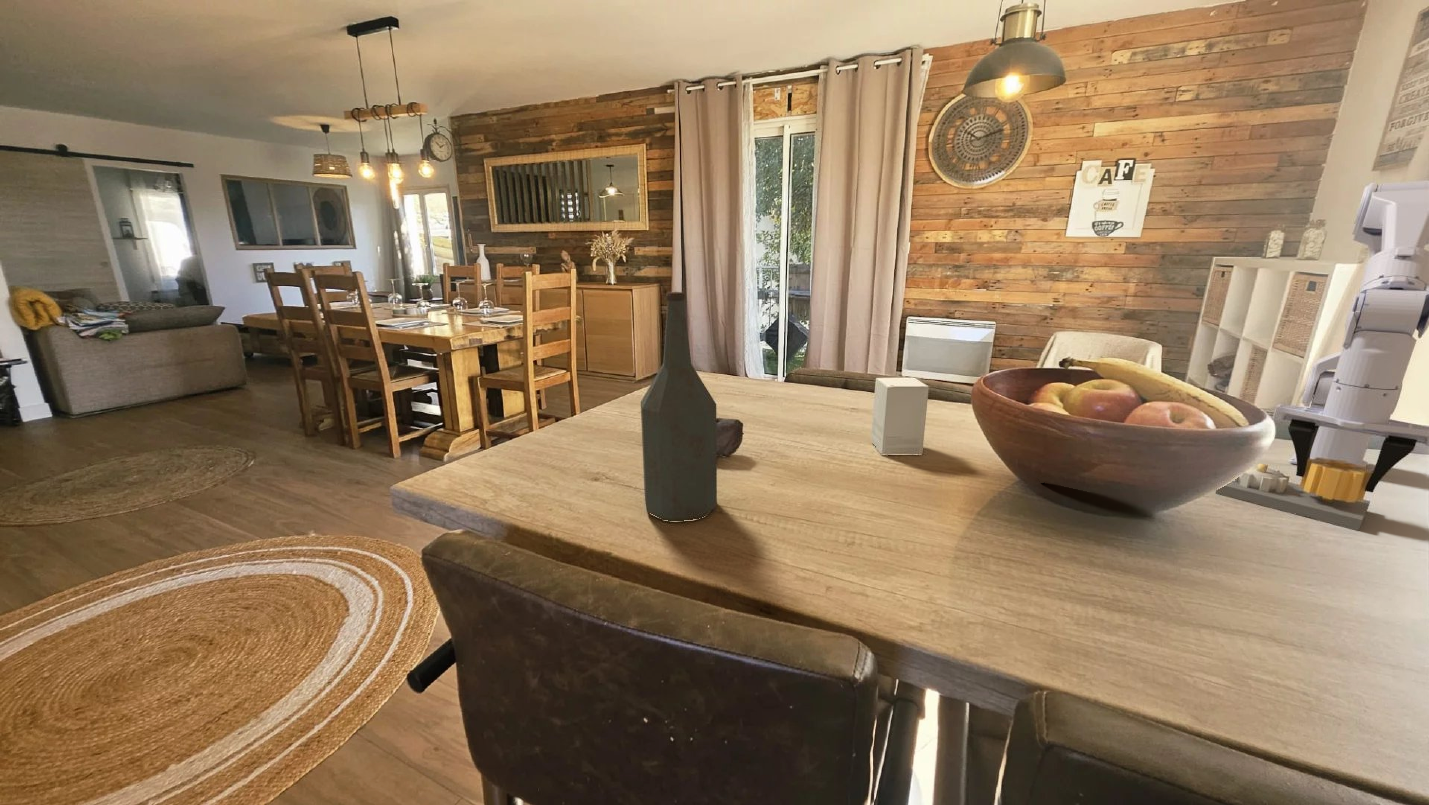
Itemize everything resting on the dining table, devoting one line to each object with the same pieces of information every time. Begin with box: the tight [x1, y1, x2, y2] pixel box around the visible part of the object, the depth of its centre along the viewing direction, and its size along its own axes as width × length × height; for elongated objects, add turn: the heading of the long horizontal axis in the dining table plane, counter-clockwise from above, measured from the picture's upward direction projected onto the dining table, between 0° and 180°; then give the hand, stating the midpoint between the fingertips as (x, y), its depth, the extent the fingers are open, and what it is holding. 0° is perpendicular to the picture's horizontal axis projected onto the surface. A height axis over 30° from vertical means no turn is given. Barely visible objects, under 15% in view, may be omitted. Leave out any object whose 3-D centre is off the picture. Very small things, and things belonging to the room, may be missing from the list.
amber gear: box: [1299, 458, 1374, 502], centre depth 74 cm, size 6×6×4 cm
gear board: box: [1215, 463, 1371, 531], centre depth 77 cm, size 9×14×5 cm, turn 36°
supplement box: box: [870, 377, 930, 455], centre depth 98 cm, size 7×7×13 cm
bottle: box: [640, 291, 718, 521], centre depth 73 cm, size 10×10×30 cm
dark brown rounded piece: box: [716, 417, 745, 458], centre depth 96 cm, size 15×5×7 cm, turn 78°
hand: (1333, 482), depth 74 cm, fingers closed on amber gear, 6 cm apart
